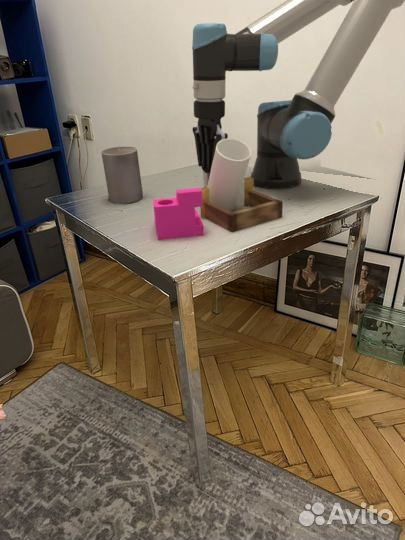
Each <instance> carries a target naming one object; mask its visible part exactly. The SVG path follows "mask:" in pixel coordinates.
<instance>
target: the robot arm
mask: <svg viewBox="0 0 405 540" xmlns="http://www.w3.org/2000/svg"><path fill="white" fill-rule="evenodd" d="M351 3H352V4H351ZM404 3H405V0H285V1H284V2H283V3H281V4H279V5H278V6H276V7H274V9H272V10H270V11H268V12H267V13H265V14H264V15H262V16H261V17H259V18H258V19H257V20H254V21H253V22H251V23H250V24H249V25H247V26H246V27H244V28H243V29H241V30H238V32H236V33H235V34H233V33H228V31H227V26H226V24H225V23H216V22H210V23H197V24H196V25H194V27H193V29H192V47H191V49H192V70H193V71H192V72H193V73H192V74H193V76H192V79H193V85H192V90H193V98H194V99H195V100H194V101H193V117H194V118H196V119H197V126H193V127H192V134H193V136H194V142H195V149H196V158H197V164H198V167H201V170H202V171H203V177H202V178H203V188H207V185H208V181H209V176H210V172H211V167H212V163H213V158H214V154H215V150H216V146H217V143H218V142H219V141H221V140H223V139H229V138H228V137H229V135H228V133H224V132H223V131H222V121H221V119H222V118H224V117H225V116H226V101H225V100H224V99H225V98H226V73H227V72H254V71H255V72H258V71H259V72H263V71H270V70H273V68H275V65H276V64H277V61H278V55H279V44H280V43H281V42H283V41H285V40H287V39H288V38H290V36H293V35H294V34H296V33H297V32H299V31H300V30H302V29H303V28H305V27H307V26H309V25H310V24H312V23H314V22H315V21H317V20H318V19H319V18H321V17H322V16H324V15H325V14H327V13H329V12H330V11H333V9H335V8H337V7H338V6H339V5H340V6H344V7H345V6H348V5H349V4H351V6H350V8H349V10H348V11H347V14H346V15H345V17H344V18H343V20H342V22H341V24H340V25H339V28H338V29H337V32H336V33H335V34H334V37H333V38H332V40H331V42H330V43H329V45H328V47H327V49H326V50H325V53H323V56H322V58H321V59H320V61H319V63H318V65H317V66H316V68H315V70H314V72H313V74H312V75H311V77H310V79H309V80H308V83H307V85H306V87H304V90H302V91H299V92H296V93H294V96H293V97H292V99H291V100H277V101H267V102H262V103H260V104H259V105H258V107H257V114H256V118H257V119H256V120H257V127H256V128H257V130H256V131H257V135H256V140H257V142H256V152H257V153H256V158H255V162H254V164H253V169H252V171H251V173H250V177H251V178H254V186H255V187H258V188H261V189H262V188H263V189H271V190H272V189H273V190H274V189H275V190H280V189H282V190H283V189H288V188H294V187H297V186H299V185H300V184H301V183H302V172H301V171H300V165H299V161H298V160H311V159H312V158H315V157H317V156H319V155H320V154H322V153H323V151H325V150H326V148H327V147H328V145H329V143H330V142H331V139H332V133H333V132H332V128H333V127H332V122H333V121H334V119H335V118H336V112H335V106H336V104H337V103H338V101H339V99H340V98H341V95H342V94H343V93H344V91H345V89H346V87H347V86H348V84H349V82H350V80H351V79H352V77H353V76H354V74H355V72H356V70H357V68H358V67H359V66H360V63H361V62H362V60H363V59H364V57H365V55H366V53H368V50H369V49H370V47H371V45H372V44H373V42H374V40H375V38H376V37H377V35H378V33H379V31H380V30H381V28H382V27H383V25H384V23H385V22H386V20H387V18H388V17H389V15H390V13H391V11H392V10H394V9H397V8H400V7H401V6H403V4H404Z"/></svg>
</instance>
